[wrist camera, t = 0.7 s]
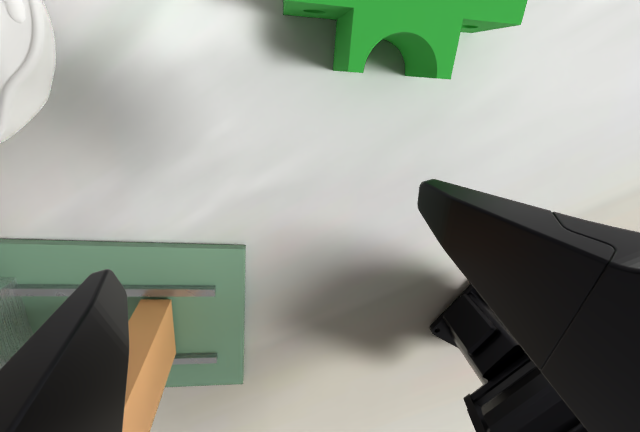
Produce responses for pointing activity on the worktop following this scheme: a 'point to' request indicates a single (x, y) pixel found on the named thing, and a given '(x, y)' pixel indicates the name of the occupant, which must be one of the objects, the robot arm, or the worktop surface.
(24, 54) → the cell model
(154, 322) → the orange block
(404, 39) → the pipe clamp
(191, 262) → the board
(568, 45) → the worktop surface
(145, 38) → the worktop surface
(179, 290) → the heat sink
